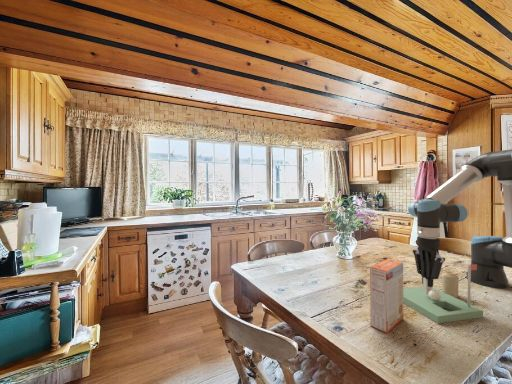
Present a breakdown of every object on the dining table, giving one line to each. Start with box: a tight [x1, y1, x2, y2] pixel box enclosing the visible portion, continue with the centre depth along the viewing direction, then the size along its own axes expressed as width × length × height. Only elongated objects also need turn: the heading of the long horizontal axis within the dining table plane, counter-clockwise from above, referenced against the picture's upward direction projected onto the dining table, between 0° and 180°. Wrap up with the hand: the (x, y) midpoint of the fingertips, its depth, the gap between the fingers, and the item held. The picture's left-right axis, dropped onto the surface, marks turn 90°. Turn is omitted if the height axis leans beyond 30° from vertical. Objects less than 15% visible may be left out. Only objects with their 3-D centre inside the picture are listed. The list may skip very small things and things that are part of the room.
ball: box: [428, 290, 441, 301], centre depth 93 cm, size 4×4×4 cm
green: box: [403, 264, 484, 324], centre depth 94 cm, size 21×22×18 cm
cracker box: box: [369, 258, 404, 334], centre depth 82 cm, size 14×6×21 cm, turn 128°
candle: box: [441, 271, 459, 298], centre depth 103 cm, size 6×6×10 cm
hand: (427, 293), depth 97 cm, fingers closed
